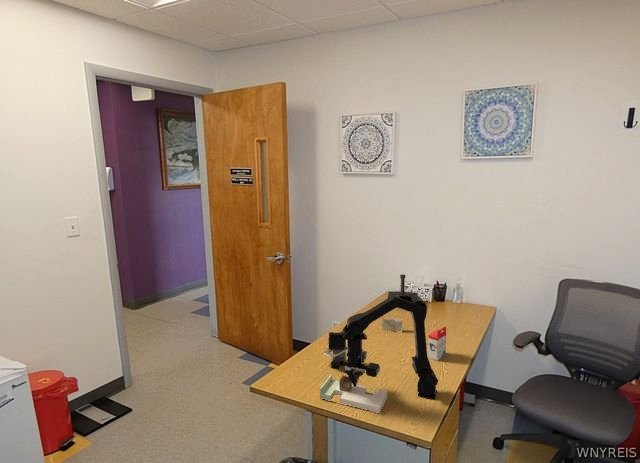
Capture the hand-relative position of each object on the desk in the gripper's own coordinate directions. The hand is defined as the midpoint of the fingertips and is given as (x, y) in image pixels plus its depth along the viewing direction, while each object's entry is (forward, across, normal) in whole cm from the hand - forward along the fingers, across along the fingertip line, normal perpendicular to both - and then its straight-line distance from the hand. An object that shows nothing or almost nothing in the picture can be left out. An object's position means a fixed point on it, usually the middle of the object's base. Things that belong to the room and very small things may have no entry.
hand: (355, 386), depth 152 cm
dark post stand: (+4, +5, -111) cm, 111 cm away
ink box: (+4, -25, -44) cm, 51 cm away
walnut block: (+1, +4, +1) cm, 4 cm away
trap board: (+4, 0, +2) cm, 4 cm away
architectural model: (+4, +16, -21) cm, 27 cm away
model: (+4, +1, -65) cm, 65 cm away
